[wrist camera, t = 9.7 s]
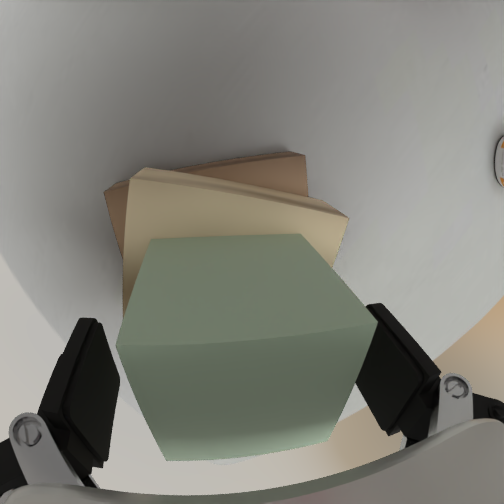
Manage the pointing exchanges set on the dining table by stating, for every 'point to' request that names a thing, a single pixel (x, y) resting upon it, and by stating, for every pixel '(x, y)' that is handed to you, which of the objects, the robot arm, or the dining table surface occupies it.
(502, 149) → the pill bottle
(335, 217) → the oak top block
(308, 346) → the sage block
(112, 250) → the dining table surface
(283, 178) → the walnut base block
